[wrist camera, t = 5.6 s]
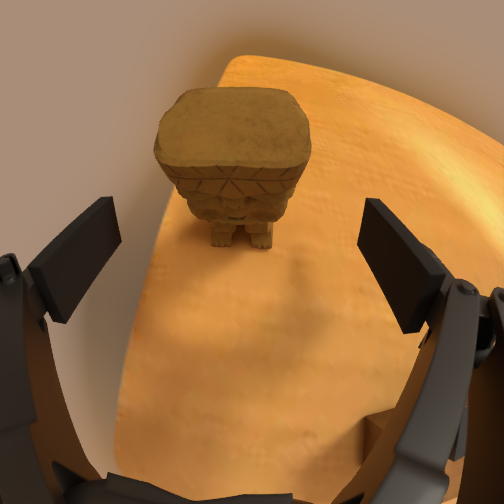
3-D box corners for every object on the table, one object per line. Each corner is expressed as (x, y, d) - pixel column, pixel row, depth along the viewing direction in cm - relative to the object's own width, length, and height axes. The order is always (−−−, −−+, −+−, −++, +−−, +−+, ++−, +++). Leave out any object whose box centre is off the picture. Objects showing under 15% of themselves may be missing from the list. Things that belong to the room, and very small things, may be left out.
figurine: (202, 250, 26) (145, 166, 11) (209, 185, 27) (174, 67, 12) (280, 253, 25) (315, 170, 11) (281, 187, 27) (305, 68, 12)
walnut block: (362, 464, 20) (385, 491, 15) (364, 416, 22) (391, 437, 16) (412, 448, 21) (441, 468, 15) (416, 400, 22) (449, 414, 16)
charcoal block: (423, 443, 21) (453, 462, 15) (427, 396, 22) (461, 408, 16) (462, 426, 21) (493, 438, 15) (466, 380, 22) (500, 387, 16)
